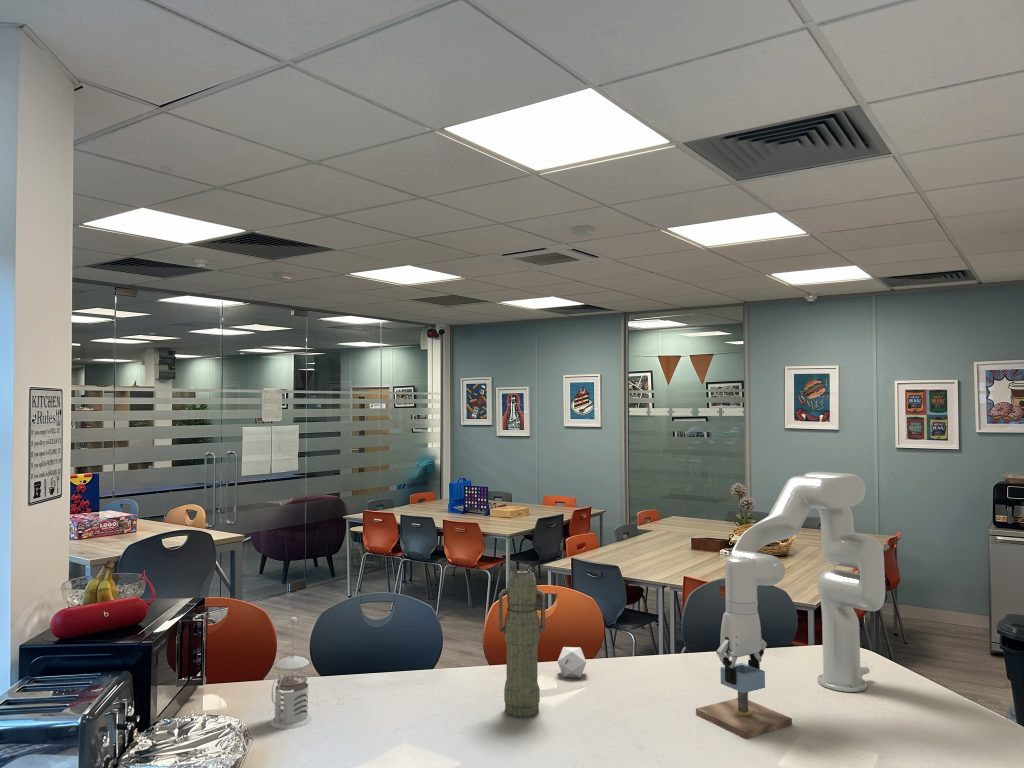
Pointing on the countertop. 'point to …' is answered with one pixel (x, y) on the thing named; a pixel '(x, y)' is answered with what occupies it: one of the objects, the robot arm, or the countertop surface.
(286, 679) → the french press
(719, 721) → the post board
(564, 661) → the die
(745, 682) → the slate ring
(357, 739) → the countertop surface
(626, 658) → the countertop surface
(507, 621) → the thermos
